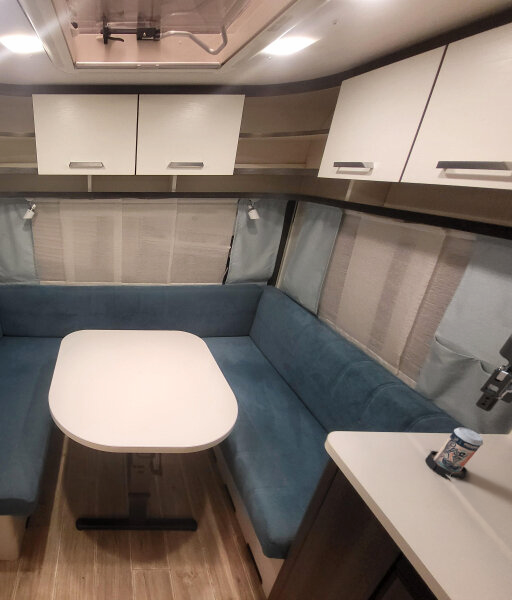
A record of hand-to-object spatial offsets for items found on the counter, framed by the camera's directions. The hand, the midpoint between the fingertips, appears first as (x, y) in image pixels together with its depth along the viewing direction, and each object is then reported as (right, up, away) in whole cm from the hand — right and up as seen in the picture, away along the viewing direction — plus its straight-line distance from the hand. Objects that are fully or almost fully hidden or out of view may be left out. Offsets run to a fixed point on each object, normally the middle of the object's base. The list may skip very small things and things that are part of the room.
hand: (493, 404), depth 68 cm
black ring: (-1, -19, +9) cm, 22 cm away
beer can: (-1, -19, +9) cm, 21 cm away
